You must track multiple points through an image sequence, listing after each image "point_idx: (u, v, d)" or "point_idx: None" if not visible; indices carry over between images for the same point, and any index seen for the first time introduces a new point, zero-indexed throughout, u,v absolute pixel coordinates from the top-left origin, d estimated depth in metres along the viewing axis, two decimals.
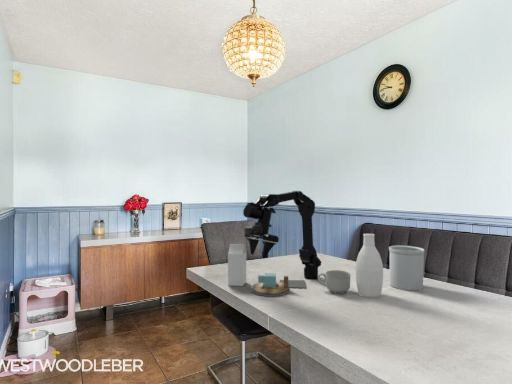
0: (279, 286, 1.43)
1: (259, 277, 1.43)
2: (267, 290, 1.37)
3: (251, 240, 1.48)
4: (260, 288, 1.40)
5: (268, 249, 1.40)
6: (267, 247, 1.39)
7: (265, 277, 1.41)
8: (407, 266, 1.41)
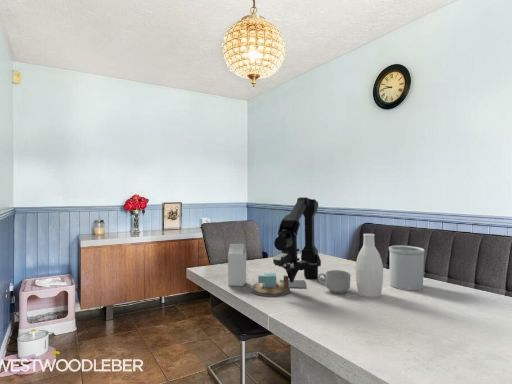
0: (279, 286, 1.43)
1: (259, 277, 1.42)
2: (268, 290, 1.37)
3: (288, 268, 1.41)
4: (261, 288, 1.40)
5: (294, 273, 1.41)
6: (293, 272, 1.40)
7: (265, 277, 1.40)
8: (407, 266, 1.41)
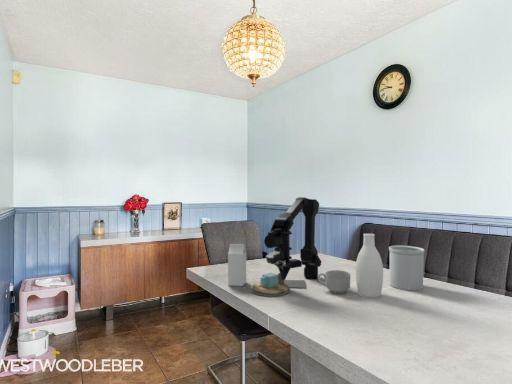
0: None
1: (263, 279, 1.39)
2: (278, 289, 1.38)
3: (280, 266, 1.45)
4: (268, 290, 1.38)
5: (287, 271, 1.45)
6: (285, 270, 1.44)
7: (271, 277, 1.40)
8: (407, 266, 1.41)
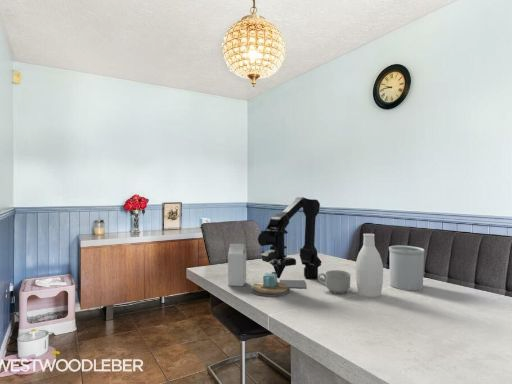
0: None
1: (269, 280, 1.38)
2: (282, 288, 1.40)
3: (275, 264, 1.48)
4: (275, 289, 1.38)
5: (281, 269, 1.47)
6: (280, 268, 1.47)
7: (274, 277, 1.40)
8: (407, 266, 1.41)
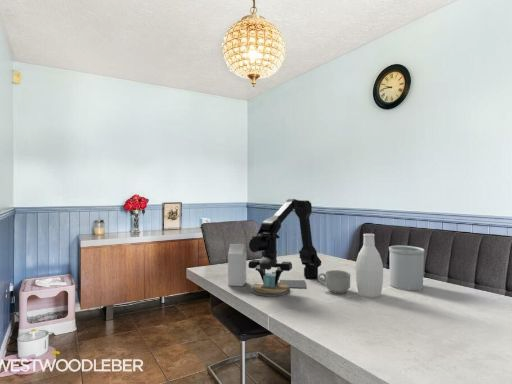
0: None
1: (269, 280, 1.38)
2: (282, 288, 1.40)
3: (262, 270, 1.43)
4: (275, 289, 1.38)
5: (279, 275, 1.42)
6: (278, 274, 1.42)
7: (274, 277, 1.40)
8: (407, 266, 1.41)
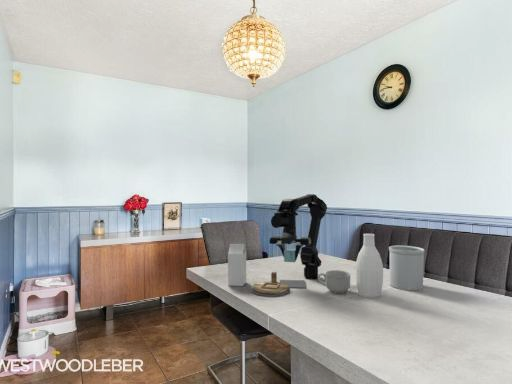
0: None
1: (289, 254, 1.46)
2: (282, 288, 1.40)
3: (282, 246, 1.51)
4: (275, 289, 1.38)
5: (298, 250, 1.51)
6: None
7: (294, 251, 1.49)
8: (407, 266, 1.41)
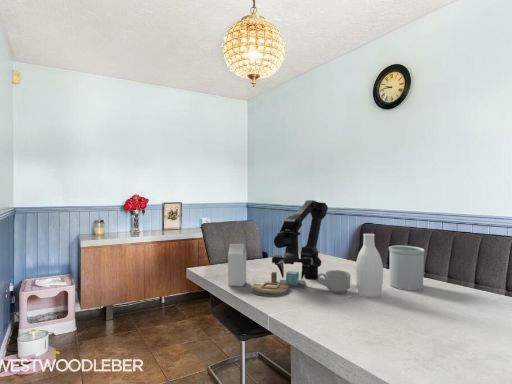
0: None
1: (291, 277, 1.47)
2: (282, 288, 1.40)
3: (281, 265, 1.52)
4: (275, 289, 1.38)
5: (305, 270, 1.51)
6: (304, 269, 1.50)
7: (296, 275, 1.49)
8: (407, 266, 1.41)
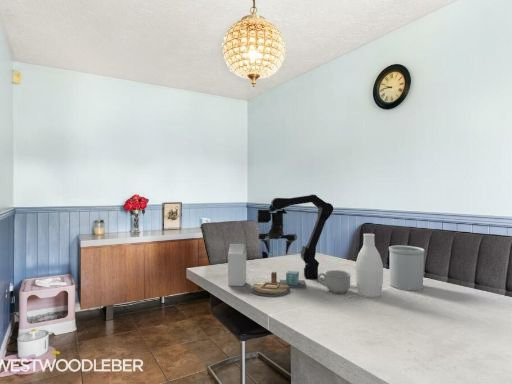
0: None
1: (291, 277, 1.47)
2: (282, 288, 1.40)
3: (267, 241, 1.63)
4: (275, 289, 1.38)
5: (289, 246, 1.61)
6: (288, 245, 1.61)
7: (296, 275, 1.49)
8: (407, 266, 1.41)
